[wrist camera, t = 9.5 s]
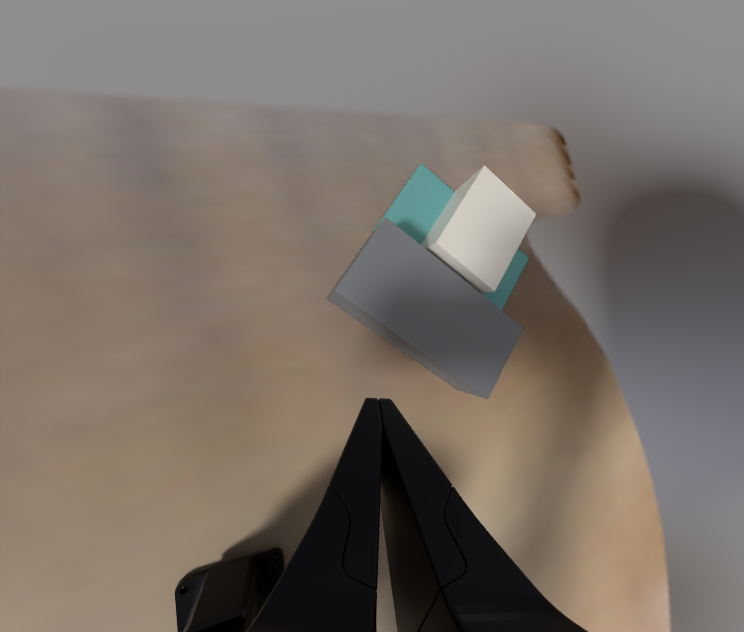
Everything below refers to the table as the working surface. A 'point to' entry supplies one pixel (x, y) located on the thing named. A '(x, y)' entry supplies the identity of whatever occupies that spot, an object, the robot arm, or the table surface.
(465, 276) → the card box
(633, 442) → the table surface
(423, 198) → the mat
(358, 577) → the robot arm
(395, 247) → the plinth
